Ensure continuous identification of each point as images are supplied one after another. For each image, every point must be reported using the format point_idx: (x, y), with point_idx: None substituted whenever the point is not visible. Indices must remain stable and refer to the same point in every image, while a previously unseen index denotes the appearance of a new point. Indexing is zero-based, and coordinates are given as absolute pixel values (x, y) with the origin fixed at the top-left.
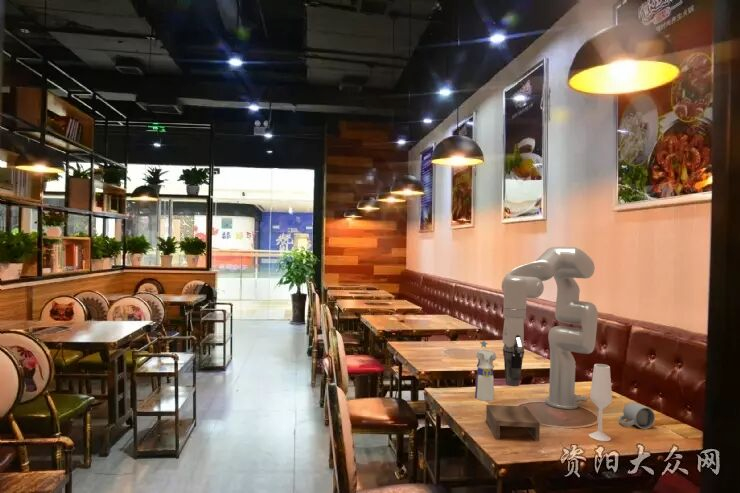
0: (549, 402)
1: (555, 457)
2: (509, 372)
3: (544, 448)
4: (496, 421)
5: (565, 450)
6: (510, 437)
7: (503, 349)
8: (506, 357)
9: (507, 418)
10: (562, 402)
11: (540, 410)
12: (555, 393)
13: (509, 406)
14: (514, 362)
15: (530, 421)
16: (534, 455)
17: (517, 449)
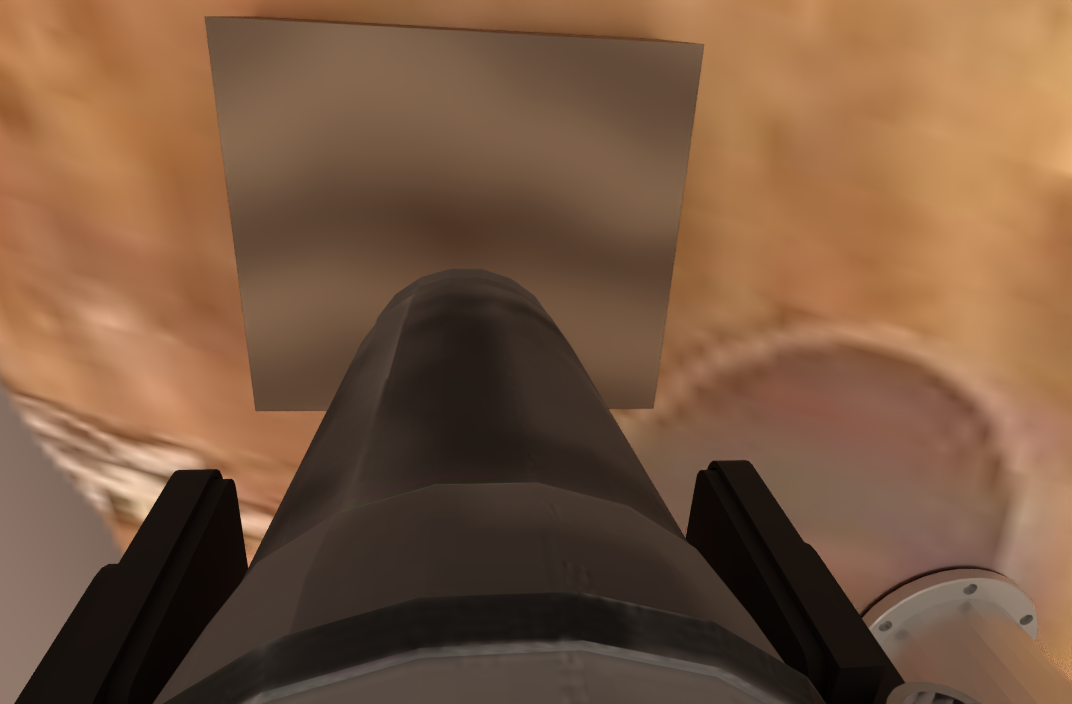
0: (938, 590)
1: (22, 369)
2: (347, 387)
3: (163, 344)
4: (208, 17)
5: (167, 459)
6: None
7: (499, 665)
8: (312, 528)
9: (306, 159)
10: (891, 656)
11: (850, 505)
12: (956, 668)
13: (649, 270)
14: (69, 619)
15: (272, 347)
16: (5, 241)
17: (82, 144)
